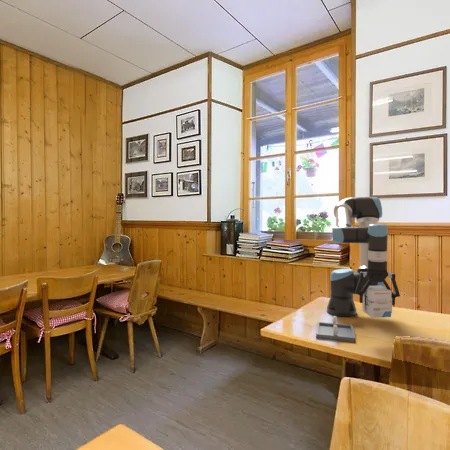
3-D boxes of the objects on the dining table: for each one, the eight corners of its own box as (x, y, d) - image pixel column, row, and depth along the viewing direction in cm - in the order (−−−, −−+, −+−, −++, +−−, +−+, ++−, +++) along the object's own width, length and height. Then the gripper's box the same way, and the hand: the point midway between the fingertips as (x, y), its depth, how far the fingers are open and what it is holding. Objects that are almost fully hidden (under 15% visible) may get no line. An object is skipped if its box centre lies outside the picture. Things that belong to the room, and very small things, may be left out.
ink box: (381, 310, 144) (381, 284, 143) (391, 317, 135) (392, 290, 134) (362, 311, 143) (362, 285, 143) (371, 318, 135) (372, 290, 134)
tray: (317, 325, 156) (317, 313, 156) (352, 328, 152) (352, 316, 151) (316, 338, 141) (316, 325, 141) (355, 342, 136) (355, 329, 136)
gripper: (349, 260, 137) (349, 311, 139) (409, 262, 131) (408, 316, 132) (348, 257, 145) (348, 306, 146) (405, 259, 138) (404, 310, 139)
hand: (376, 311), depth 139 cm, fingers closed on ink box, 10 cm apart
